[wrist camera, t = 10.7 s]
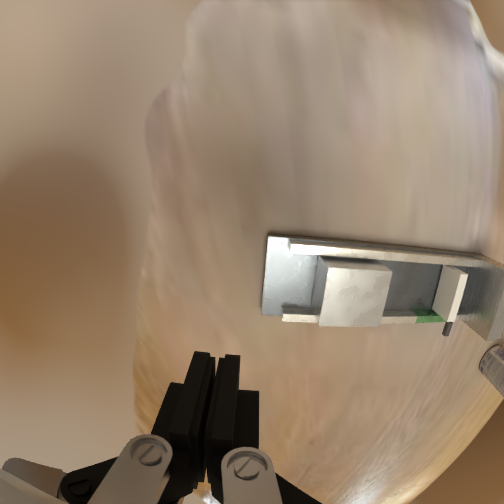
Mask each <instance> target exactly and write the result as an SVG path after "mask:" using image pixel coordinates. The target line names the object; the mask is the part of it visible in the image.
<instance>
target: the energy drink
mask: <svg viewBox="0 0 504 504" xmlns="http://www.w3.org/2000/svg"><path fill="white" fill-rule="evenodd" d="M480 371H481V373H482V374H483V375H484V376H485V377H486V378H487V379H488V380H489V381H490V382H491V383H492V384H493V386H494V387H495V388H496V389H497V390H498V391H499V392H500V393H501V394H502V396H503V397H504V349H503V348H502V347H501V346H499V345H496V346H493V347H492V348H490V349H489V350H488V351H487V352H486V353H485V355H484V356H483V358H482V360H481V362H480Z"/></svg>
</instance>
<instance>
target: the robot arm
mask: <svg viewBox="0 0 504 504" xmlns="http://www.w3.org/2000/svg"><path fill="white" fill-rule="evenodd" d="M239 372H240V355H229V354H226V355H225V358H219V362H218V367H217V372H216V377H215V357H210V353H207V352H198V351H195V352H194V354H193V357H192V360H191V363H190V366H189V369H188V372H187V375H186V378H185V381H184V384H181V383H174V382H171V383H170V385H169V387H168V390H167V392H166V395H165V397H164V400H163V403H162V405H161V408H160V410H159V413H158V416H157V418H156V421H155V424H154V426H153V429H152V432H151V434H143V435H139V436H136V437H134V438H133V439H131V440H130V441H129V442H128V443H127V444H126V446H125V447H124V449H123V451H122V452H121V453H120V455H119V456H118V457H115V458H112V459H110V460H107V461H104V462H101V463H98V464H95V465H92V466H88V467H85V468H82V469H79V470H75V471H72V472H70V473H65V472H63V471H62V470H61V469H57V468H52V467H48V466H45V465H41V464H37V463H34V462H30V461H26V460H24V459H21V458H11V459H8V460H7V461H6V462H5V463H4V465H3V467H2V469H0V504H182V502H183V500H184V497H185V496H186V495H188V494H190V493H192V492H193V489H197V486H198V482H204V478H205V472H206V467H207V477H208V483H211V492H212V496H213V497H214V498H215V499H217V500H218V501H219V502H220V503H221V504H322V503H320V502H319V501H317V500H315V499H314V498H312V497H311V496H309V495H307V494H306V493H304V492H303V491H301V490H300V489H298V488H297V487H295V486H294V485H292V484H291V483H289V482H288V481H286V480H285V479H284V478H282V477H281V476H279V475H278V474H277V473H275V470H274V466H273V463H272V460H271V458H270V457H269V456H268V455H267V454H266V453H265V452H263V451H261V450H259V391H251V390H239Z"/></svg>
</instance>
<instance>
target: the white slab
mask: <svg viewBox="0 0 504 504" xmlns="http://www.w3.org/2000/svg"><path fill="white" fill-rule="evenodd" d="M467 277H468V274H466V273H464V272H463V271H461V270H459V269H457V268H455V267H454V266H452V265H443V268H442V272H441V276H440V280H439V284H438V288H437V292H436V296H435V299H434V303H433V307H432V309H433V310H434V311H435V312H436V313H437V314H438V315H439V316H441V317H442V318H443V319H444V320H445V321H446V323H445V326H444V329H443V332H442V334H443V335H444V336H448V335H449V333H450V330H451V327H452V324H453V323H452V322H455V319H456V316H457V312H458V309H459V306H460V303H461V299H462V296H463V292H464V289H465V285H466V281H467Z"/></svg>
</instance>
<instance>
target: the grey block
mask: <svg viewBox="0 0 504 504" xmlns="http://www.w3.org/2000/svg"><path fill="white" fill-rule="evenodd" d="M391 276H392V271H391V270H390V269H388V268H387V267H386V266H384V265H383V264H382V263H380V262H379V261H378V260H377V259H365V258H352V257H339V256H326V255H319V257H318V264H317V271H316V278H315V285H314V291H313V298H312V304H311V308H312V310H313V313H314V316H315V318H316V321H317V323H318V326H343V327H379V326H380V322H381V318H382V315H383V311H384V307H385V303H386V298H387V294H388V290H389V285H390V281H391Z"/></svg>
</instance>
